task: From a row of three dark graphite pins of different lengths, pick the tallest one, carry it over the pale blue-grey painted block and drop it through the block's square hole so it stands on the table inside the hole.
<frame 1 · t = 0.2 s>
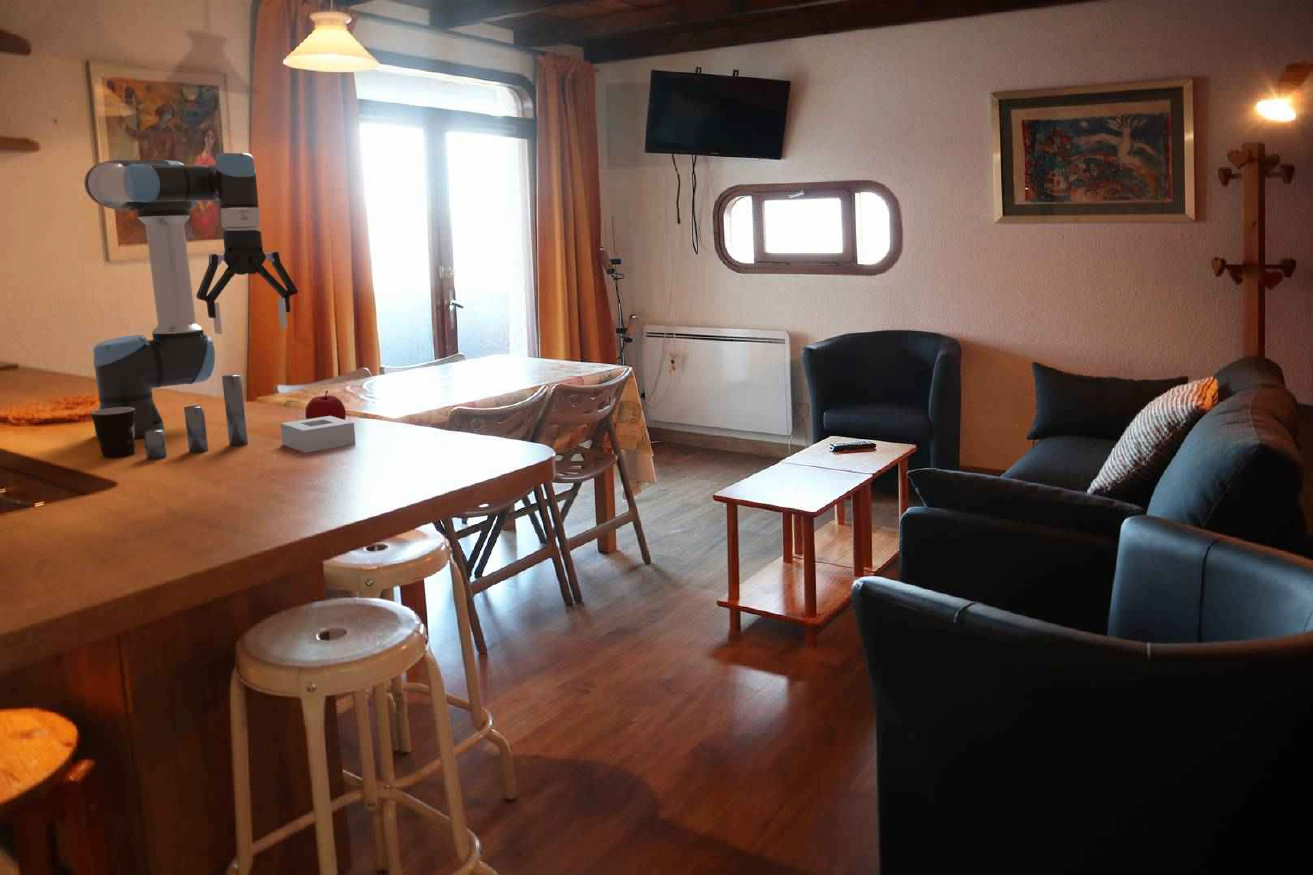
hand: (251, 330, 229), 27 cm above the kitchen counter, fingers open, 13 cm apart
hole block: (319, 444, 245), on the kitchen counter
medium pin: (198, 450, 241), on the kitchen counter
apple: (327, 431, 260), on the kitchen counter
coffee mug: (123, 454, 240), on the kitchen counter
long pin: (238, 444, 247), on the kitchen counter
short pin: (156, 457, 235), on the kitchen counter
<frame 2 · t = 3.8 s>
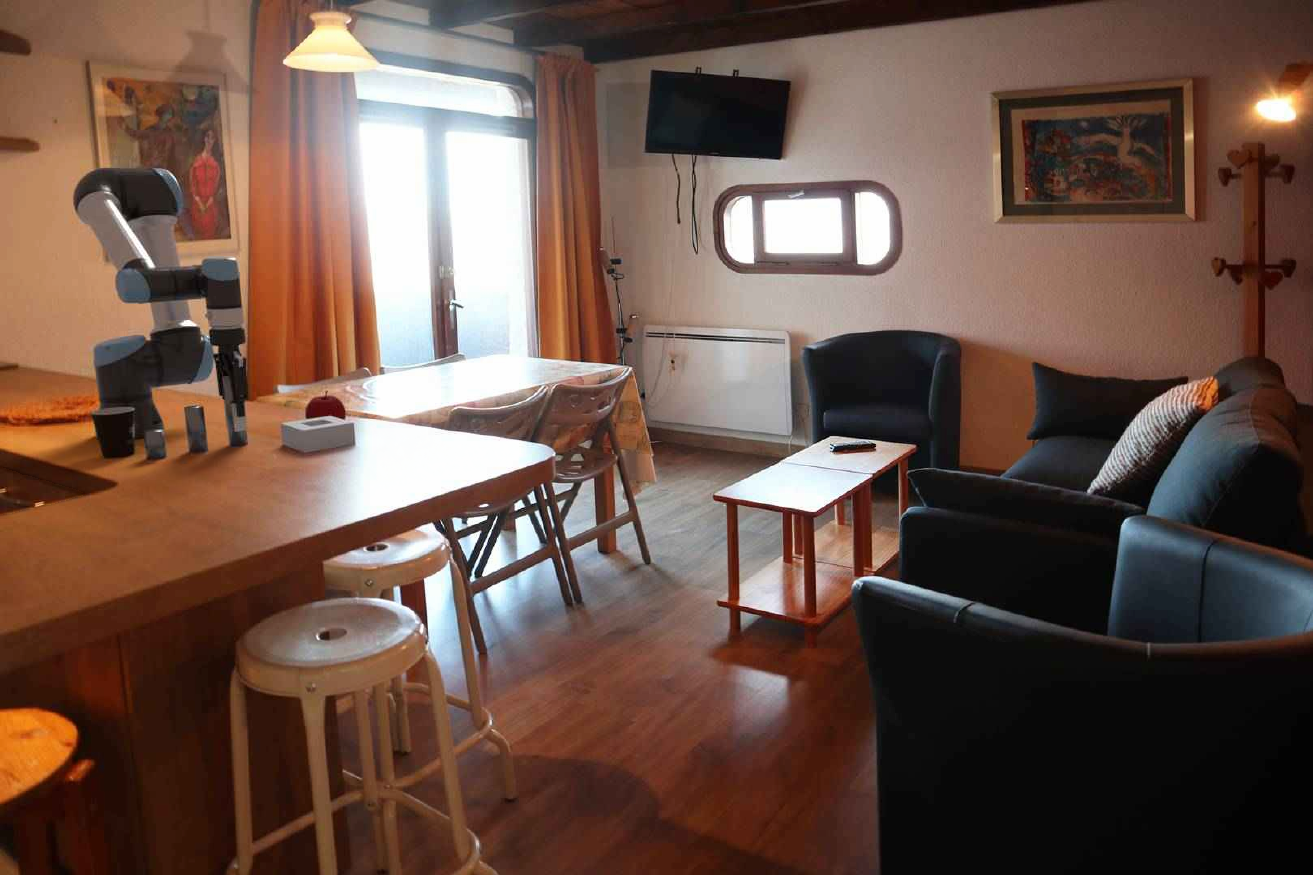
hand: (237, 428, 246), 4 cm above the kitchen counter, fingers closed on long pin, 4 cm apart
long pin: (238, 444, 247), on the kitchen counter, touching gripper
everything else where it was.
when the fingers open (7 cm above the kitchen counter, at t = 9.8 s): long pin drops 3 cm, resting in hole block.
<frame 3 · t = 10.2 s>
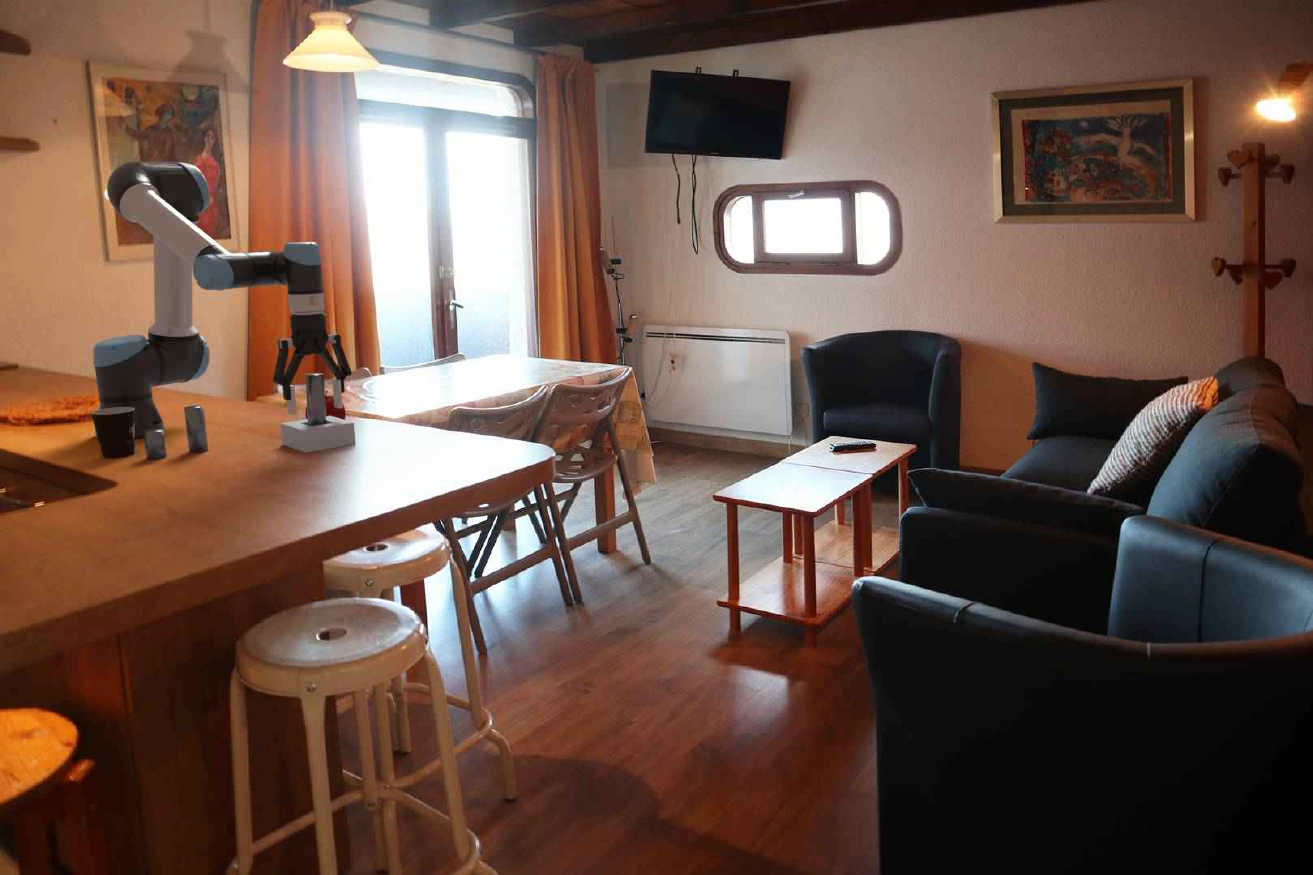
hand: (316, 410, 244), 8 cm above the kitchen counter, fingers open, 10 cm apart
long pin: (318, 444, 245), resting in hole block
everything else where it was.
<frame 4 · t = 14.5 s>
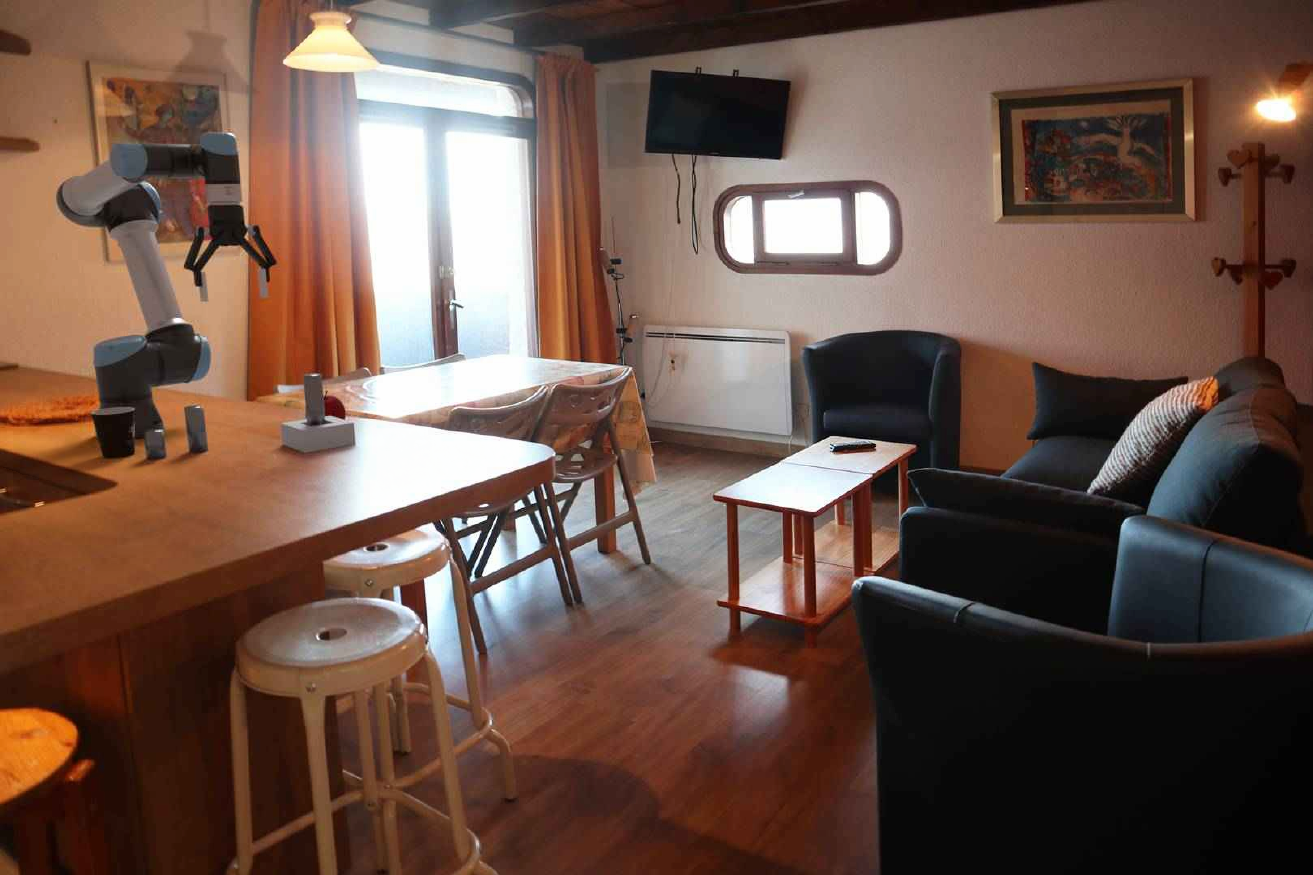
hand: (234, 299, 246), 33 cm above the kitchen counter, fingers open, 13 cm apart
nothing on the kitchen counter moved.
at the end: long pin 0.1 cm off-centre on the hole block, point 0.0 cm above the hole block's base; long pin tilted 0°; the gripper is holding nothing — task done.
